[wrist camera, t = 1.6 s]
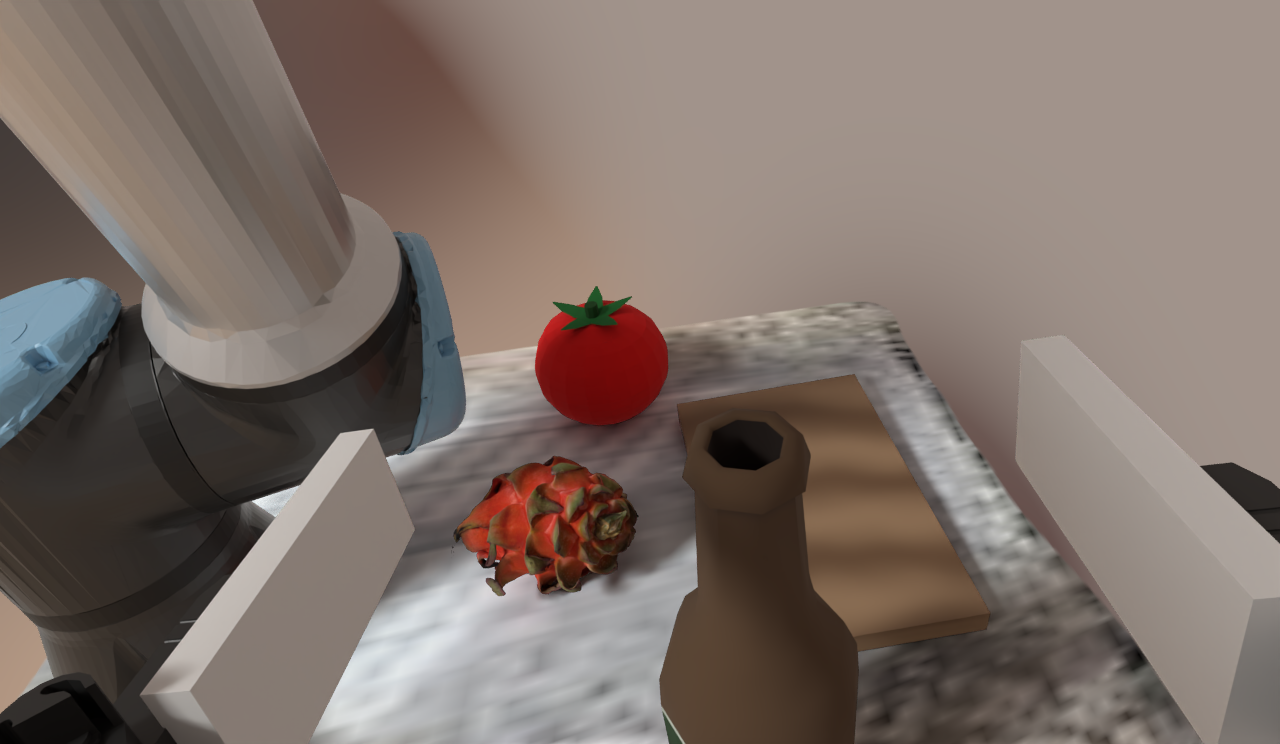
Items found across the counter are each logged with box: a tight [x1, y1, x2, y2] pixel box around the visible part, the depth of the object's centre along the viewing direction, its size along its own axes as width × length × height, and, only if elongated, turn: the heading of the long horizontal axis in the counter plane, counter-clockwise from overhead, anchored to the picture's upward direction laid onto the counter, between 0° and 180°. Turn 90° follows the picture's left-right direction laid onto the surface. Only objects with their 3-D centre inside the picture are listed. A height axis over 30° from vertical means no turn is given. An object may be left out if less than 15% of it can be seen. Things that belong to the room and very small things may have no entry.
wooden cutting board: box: [677, 374, 990, 651], centre depth 50 cm, size 22×14×2 cm, turn 6°
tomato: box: [535, 286, 668, 425], centre depth 58 cm, size 10×10×10 cm
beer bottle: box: [659, 408, 859, 744], centre depth 28 cm, size 8×8×24 cm
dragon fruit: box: [451, 456, 639, 596], centre depth 47 cm, size 8×8×12 cm
